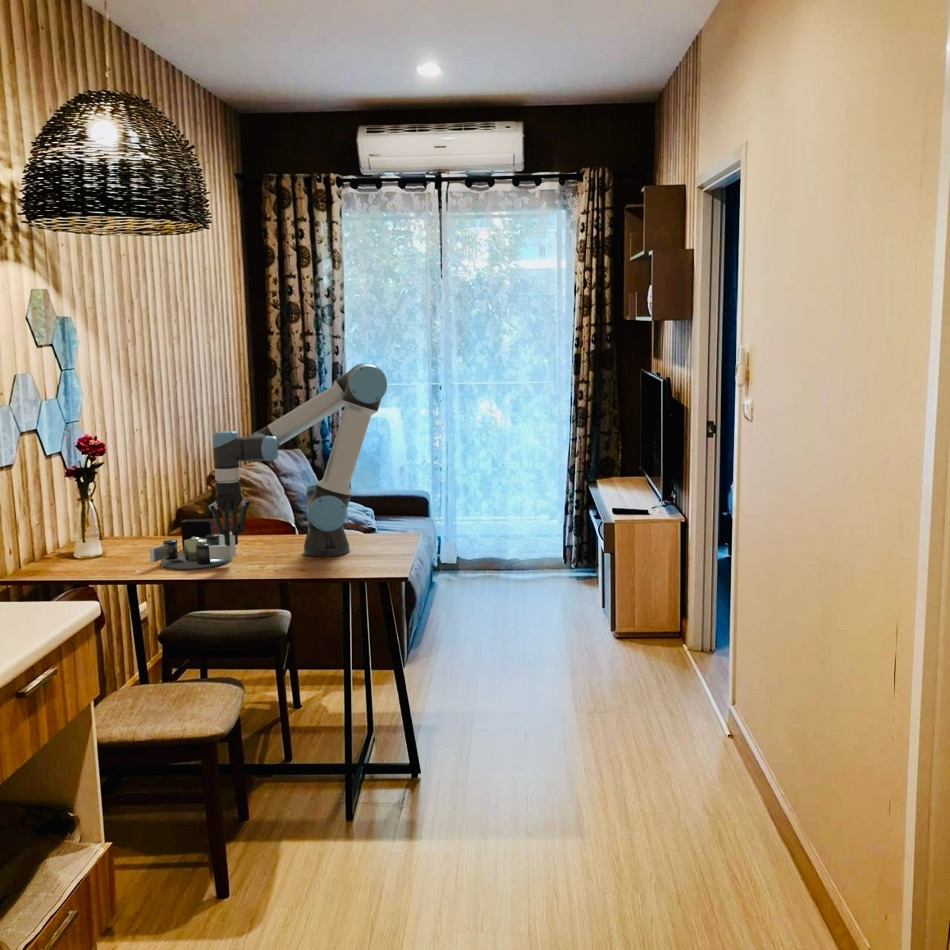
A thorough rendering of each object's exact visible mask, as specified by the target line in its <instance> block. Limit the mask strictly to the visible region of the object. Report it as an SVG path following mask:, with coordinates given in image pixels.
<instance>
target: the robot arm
mask: <svg viewBox="0 0 950 950" xmlns="http://www.w3.org/2000/svg"><path fill="white" fill-rule="evenodd" d="M387 389H388V381H387V377H386V374H385V373H384V371H383V370H382V369H381V368H380V367H379V366H377V365H374V364H371V363H359V364H356V365H354V366H353V367H352V368H351V369H349V370H348V371H347V372H346V373H344V374H343V375H342V376H340V377H338V378H337V379H335V380H334V382H333V385H332V386H330V387H329V388H327V389H325V390H324V391H322V392H320V393H318V394H317V395H315V396H314V397H312V398H310V399H309V400H306V402H304V403H302V404H301V405H299V406H297V407H296V408H294V409H292V410H291V411H289V412H288V413H286V414H284V415H282V416H281V417H279V418H277V419H276V420H274V421H273V422H271V423H269V424H268V425H267V426H265V427H263V428H261V429H260V430H258V431H255V432H253V433H252V434H250V436H246V437H245V436H244V437H243V436H242V437H241V436H239V435H238V433H239V432H237V430H221V431H216V432H214V433H213V436H212V441H213V442H212V445H213V446H212V450H213V451H212V452H213V463H214V465H213V466H214V480H215V481H216V482H215V498H214V502H213V503H211V504H208V505H207V508H208V509H209V510H210V512H211V514H212V517H213V521H214V525H215V527H216V530H217V534H219V535H220V534H221V535H224V539H225V545H226V546H228V555H229V556H231V557H232V556H233V557H236V556H237V555H236V553H237V552H236V546H237V545H238V544H239V538H238V537H239V534H241V533H243V532H244V528H245V523H246V518H247V512H248V508H249V507H250V505H251V502H250V501H248V500H245V499H244V498H243V496H242V489H241V487H242V486H241V481H240V480H241V472H240V471H241V470H240V462H257V461H258V462H259V461H266V462H269V461H276V460H277V459H278V458H279V450H278V447H280V446H281V445H282V444H284V443H286V442H288V441H290V440H291V439H293V438H295V437H297V435H299V434H301V433H303V432H304V431H306V430H307V429H309V428H311V427H313V426H314V425H316V424H318V423H319V422H321V421H322V420H323V419H325V418H328V417H330V416H331V415H332V414H334V413H336V412H338V411H339V410H340V409H342V408H344V409H343V413H342V416H341V419H340V422H339V426H338V429H337V432H336V436H335V439H334V442H333V444H332V447H331V451H330V455H329V458H328V461H327V464H326V468H325V470H324V474H323V477H322V479H321V480H318V481H317V482H315V484H308V485H307V486H306V491H305V495H306V509H307V510H306V513H307V515H306V516H307V533H306V536H305V540H304V545H303V554H304V555H306V556H309V557H314V558H315V557H316V558H317V557H318V558H322V557H323V558H325V557H328V558H329V557H335V556H336V557H337V556H338V557H339V556H342V555H345V554H347V553H349V552H350V548H351V547H350V543H349V541H348V537H347V535H346V532H345V528H344V523H345V521H346V519H347V516H348V506H349V504H350V501H351V497H352V494H353V493H352V492H351V489H350V485H351V480H352V477H353V476H354V471H355V468H356V465H357V462H358V458H359V456H360V452H361V449H362V446H363V444H364V440H365V437H366V433H367V430H368V426H369V424H370V421H371V418H372V416H373V415H375V414H376V413H377V412H378V411H379V408H380V405H381V402H382V399H383V397H384V396H385V394H386V392H387ZM239 506H241V507H240V510H239V517H238V508H239ZM218 507H219V508H220V510H221V513H222V521H221V517H220V513H219V512H218ZM230 523H231V525H230ZM230 530H231V531H230ZM230 532H232V534H230Z"/></svg>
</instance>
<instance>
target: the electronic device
mask: <svg viewBox="0 0 950 950" xmlns="http://www.w3.org/2000/svg"><path fill="white" fill-rule="evenodd" d="M180 528H181V531H180V532H181V542H182V543H181V545H182V550H183V551H185V548H184V540H186V539H191V538H192V537H199V538H206V535H209V534H215V521H214V519H211V518H203V519H202V518H201V519H200V518H197V519H194V518H193V519H185V520H182V521H181V523H180ZM206 539H207V538H206Z"/></svg>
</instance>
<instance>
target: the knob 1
mask: <svg viewBox="0 0 950 950" xmlns="http://www.w3.org/2000/svg"><path fill="white" fill-rule="evenodd" d="M178 554H179V552H178V539H175V538H174V539H164V540H162V544H160V545H157V546H152V547H150V548H149V557H150V558H149V560H150V562H152V563H156V562H159V561H161V560H162V559H166V560H172V559H177V558H178Z"/></svg>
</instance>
